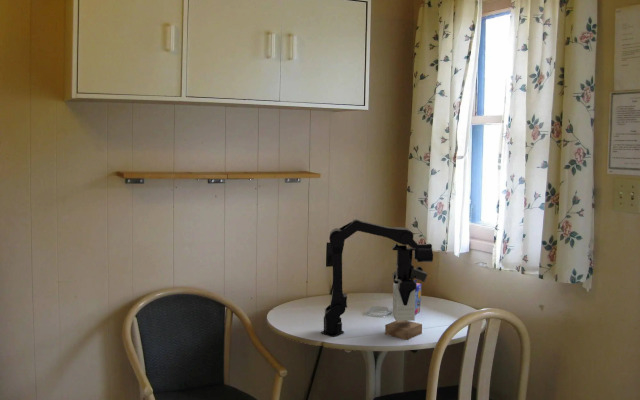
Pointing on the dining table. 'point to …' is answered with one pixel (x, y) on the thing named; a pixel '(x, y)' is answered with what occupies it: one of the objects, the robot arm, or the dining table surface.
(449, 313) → the dining table surface
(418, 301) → the ink cartridge box
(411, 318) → the supplement box
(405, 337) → the walnut block
